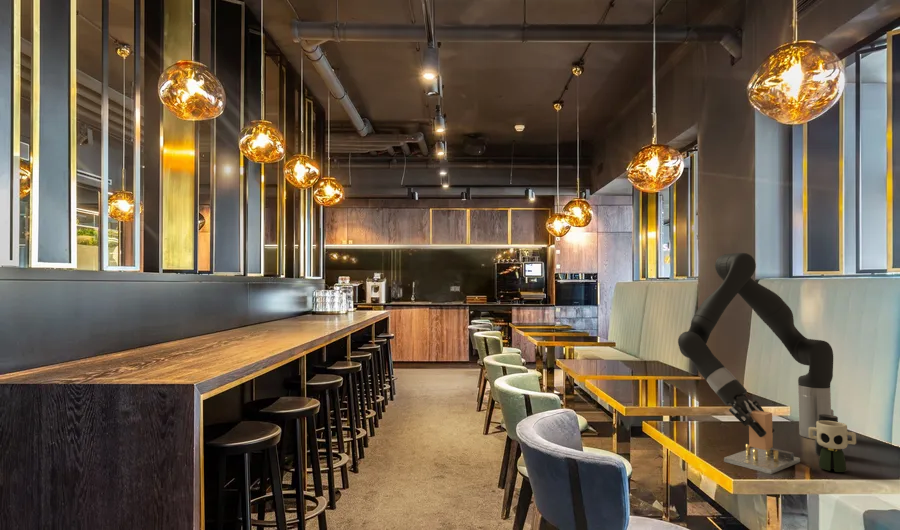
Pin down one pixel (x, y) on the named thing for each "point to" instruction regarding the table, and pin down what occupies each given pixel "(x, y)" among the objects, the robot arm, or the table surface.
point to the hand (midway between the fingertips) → (767, 434)
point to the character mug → (832, 444)
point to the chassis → (763, 459)
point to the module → (766, 424)
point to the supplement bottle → (821, 418)
